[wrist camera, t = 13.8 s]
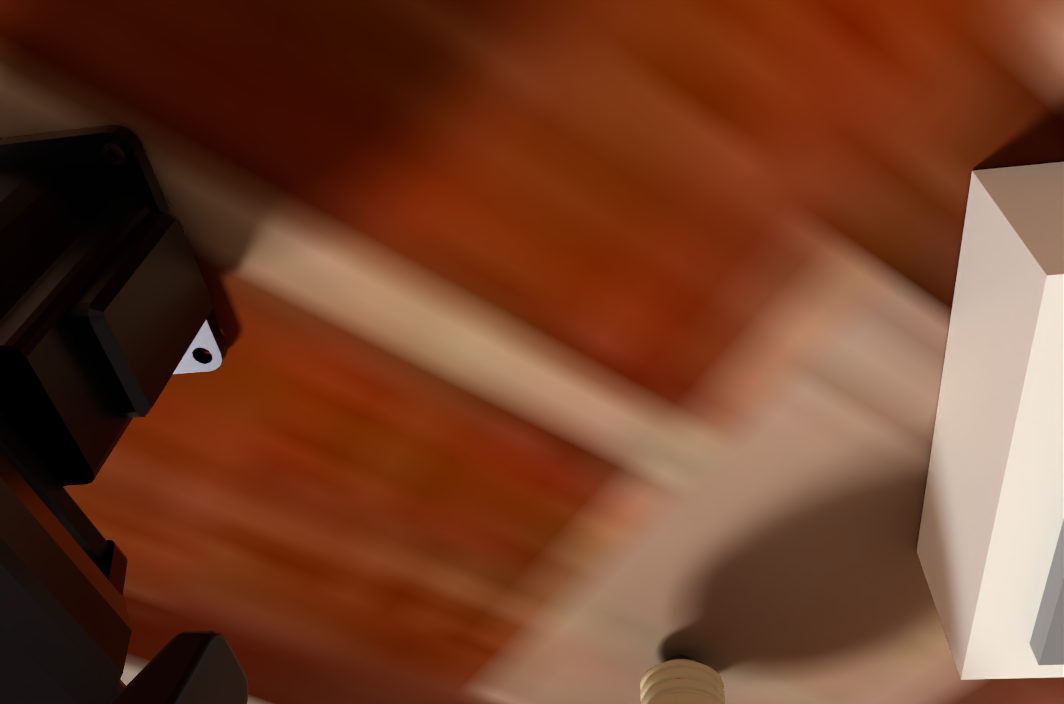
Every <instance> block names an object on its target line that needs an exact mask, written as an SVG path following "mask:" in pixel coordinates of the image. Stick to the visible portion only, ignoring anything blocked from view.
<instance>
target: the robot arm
mask: <svg viewBox="0 0 1064 704" xmlns="http://www.w3.org/2000/svg"><path fill="white" fill-rule="evenodd" d="M109 143H112V144H115V145H117V146H119V147H120V148H121V149H122V151H123V152H124V155H125V157H120V156H118V155H116V154H115V153H114V152H113V151H112V150H111V148H110V144H109ZM213 307H214V304H213V301H212V299H211V296H210V294H209V291H208V289H207V287H206V284H205V282H204V279H203V277H202V275H201V272H200V270H199V267H198V265H197V263H196V260H195V258H194V255H193V253H192V251H191V248H190V246H189V243H188V241H187V239H186V236H185V234H184V231H183V229H182V227H181V224H180V222H179V220H178V219H177V218H176V217H175V216H174V215H173V214H172V213H171V212H170V210H169V207H168V205H167V203H166V200H165V198H164V195H163V193H162V191H161V188H160V186H159V183H158V181H157V179H156V176H155V174H154V172H153V169H152V167H151V164H150V162H149V160H148V157H147V155H146V153H145V150H144V148H143V145H142V143H141V142H140V140H139V139H138V137H137V136H136V135H135V134H134V133H133V132H132V131H130V130H129V129H127V128H124V127H122V126H116V125H109V126H100V127H92V128H84V129H75V130H67V131H59V132H50V133H42V134H33V135H25V136H17V137H8V138H0V704H247V700H248V682H247V678H246V675H245V673H244V671H243V669H242V667H241V665H240V663H239V662H238V660H237V658H236V656H235V654H234V652H233V651H232V649H231V647H230V645H229V643H228V641H227V640H226V638H225V636H224V635H223V634H222V633H220V632H219V631H216V630H203V631H186V632H182V633H180V634H179V635H177V636H176V637H174V638H173V639H172V640H171V641H170V642H169V643H168V644H167V645H166V646H165V647H164V648H163V649H162V650H161V651H160V652H159V653H158V654H157V655H156V656H155V657H154V658H153V659H152V660H151V661H150V662H149V663H148V664H147V665H146V666H145V667H144V668H143V669H142V671H141V672H140V673H139V674H138V675H137V676H136V677H135V678H134V679H133V680H132V681H131V682H130V683H129V684H128V685H127V686H126V685H125V684H124V683H123V682H122V681H121V680H120V678H121V675H122V673H123V669H124V665H125V660H126V655H127V650H128V645H129V640H130V635H131V626H130V622H129V617H128V613H127V609H126V604H125V600H124V598H123V597H122V596H123V589H124V581H125V574H126V567H127V558H126V556H125V555H124V554H123V553H122V551H121V550H120V549H119V548H118V546H117V545H116V544H115V543H114V542H113V541H112V540H105V538H104V537H103V536H102V535H101V533H100V532H99V531H98V530H97V528H96V527H95V526H94V525H93V524H92V522H91V521H90V520H89V519H88V517H87V516H86V515H85V514H84V512H83V511H82V510H81V509H80V507H79V506H78V505H77V504H76V503H75V501H74V500H73V499H72V498H71V496H70V495H69V494H68V493H67V491H66V490H65V489H64V488H63V486H67V485H81V484H88V483H91V482H92V481H93V480H94V478H95V477H96V475H97V474H98V472H99V471H100V469H101V467H102V466H103V464H104V463H105V461H106V459H107V458H108V456H109V455H110V453H111V452H112V450H113V448H114V447H115V445H116V444H117V442H118V441H119V439H120V437H121V436H122V434H123V433H124V431H125V429H126V428H127V426H128V425H129V423H130V422H131V420H132V418H136V417H145V416H146V415H147V414H148V413H149V411H150V410H151V408H152V407H153V405H154V403H155V402H156V400H157V399H158V397H159V395H160V394H161V392H162V390H163V389H164V387H165V386H166V384H167V382H168V381H169V379H170V377H171V376H172V374H181V373H194V372H207V371H212V370H216V369H217V368H218V367H219V366H220V365H221V364H222V362H223V360H224V358H225V356H226V354H227V346H226V343H225V341H224V338H223V336H222V333H221V331H220V329H219V326H218V324H217V322H216V319H215V317H214V314H213V312H212V309H213ZM199 348H205V349H206V350H208V351H209V352H210V353H211V354H206V353H204V352H202V351H201V350H200V349H199Z"/></svg>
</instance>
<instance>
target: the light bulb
mask: <svg viewBox="0 0 1064 704" xmlns="http://www.w3.org/2000/svg"><path fill="white" fill-rule="evenodd" d="M640 689H641V694H640V698H641V704H725V694H724V690H723V689H724V685H723V681H722V679H721V677H720V675H719V674H718V673H717V672H716V671H715V670H714V669H712V668H711V667H709V666H707V665H704V664H701V663H698V662H696V661H694V660H692V659H691V658H688V657H686V656H675V657H672V658H670V659H668V660H667V661H665V662H664V663H661V664H659V665H656V666H654V667H653V668H651V669H650V670H648V671H647V672H646V673H645V674H644V676H643V677H642V680H641V683H640Z"/></svg>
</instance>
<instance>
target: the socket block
mask: <svg viewBox="0 0 1064 704" xmlns="http://www.w3.org/2000/svg"><path fill="white" fill-rule="evenodd" d="M917 554H918V557H919V560H920V563H921V566H922V568H923V571H924V574H925V577H926V580H927V583H928V586H929V589H930V592H931V595H932V597H933V600H934V603H935V606H936V609H937V612H938V615H939V618H940V621H941V624H942V626H943V629H944V632H945V635H946V638H947V641H948V644H949V647H950V650H951V653H952V655H953V658H954V661H955V664H956V667H957V670H958V673H959V676H960V679H961V680H966V679H1007V678H1047V677H1064V162H1055V163H1045V164H1035V165H1025V166H1014V167H1004V168H994V169H984V170H974V171H972V175H971V182H970V189H969V196H968V202H967V209H966V216H965V223H964V230H963V237H962V244H961V250H960V257H959V264H958V271H957V278H956V285H955V292H954V298H953V305H952V312H951V319H950V326H949V333H948V340H947V346H946V353H945V360H944V367H943V374H942V381H941V387H940V394H939V401H938V408H937V415H936V422H935V429H934V435H933V442H932V449H931V456H930V463H929V470H928V477H927V483H926V490H925V497H924V504H923V511H922V518H921V525H920V531H919V538H918V545H917Z"/></svg>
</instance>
